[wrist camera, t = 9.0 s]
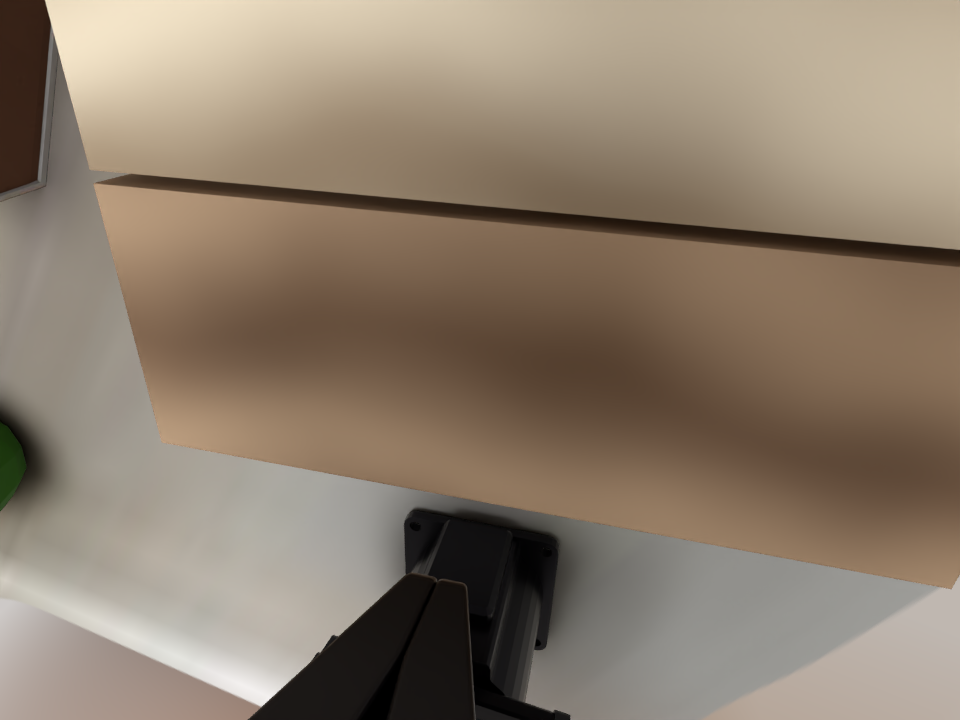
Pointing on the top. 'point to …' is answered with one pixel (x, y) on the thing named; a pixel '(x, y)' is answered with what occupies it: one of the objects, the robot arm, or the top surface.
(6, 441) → the bell pepper
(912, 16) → the pale plank
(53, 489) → the top surface
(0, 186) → the food container
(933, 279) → the floor platform
